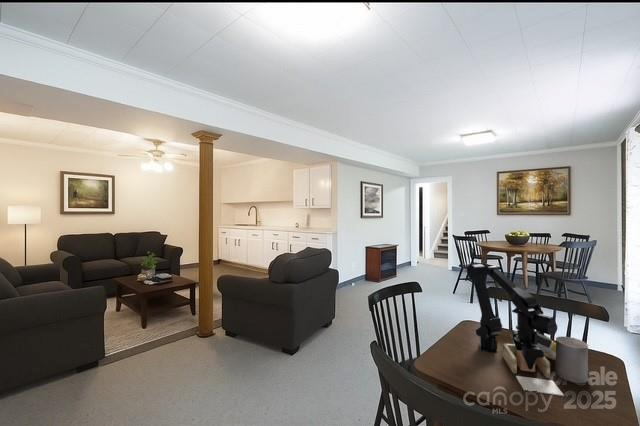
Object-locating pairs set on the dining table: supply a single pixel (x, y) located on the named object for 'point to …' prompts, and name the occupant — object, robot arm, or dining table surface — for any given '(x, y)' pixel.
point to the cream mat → (539, 385)
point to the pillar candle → (572, 359)
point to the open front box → (511, 360)
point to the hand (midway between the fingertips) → (526, 363)
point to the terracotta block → (523, 362)
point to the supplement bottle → (549, 350)
